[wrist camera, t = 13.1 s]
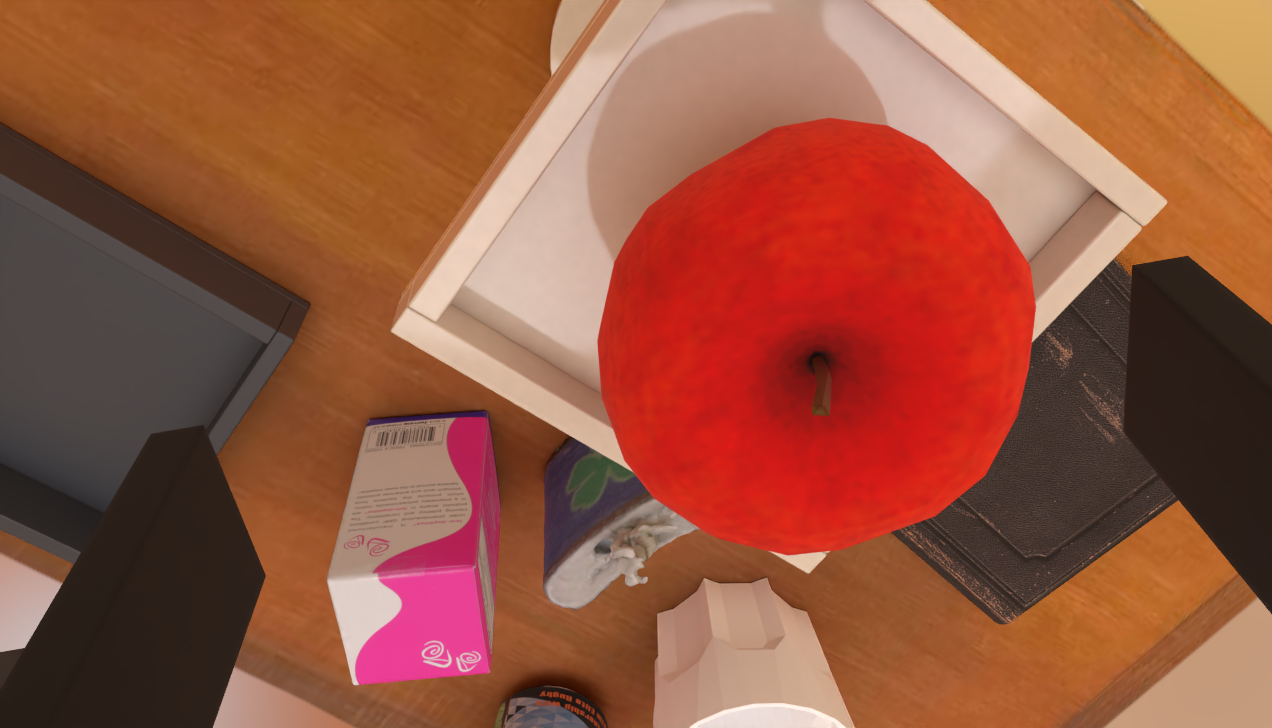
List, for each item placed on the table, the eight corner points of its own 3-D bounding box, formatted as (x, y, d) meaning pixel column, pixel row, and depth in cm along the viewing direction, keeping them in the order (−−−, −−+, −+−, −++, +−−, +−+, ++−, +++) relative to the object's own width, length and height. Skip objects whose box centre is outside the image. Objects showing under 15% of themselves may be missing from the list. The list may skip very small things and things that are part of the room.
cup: (740, 528, 57) (773, 667, 48) (860, 634, 61) (911, 781, 52) (596, 638, 60) (603, 788, 51) (720, 733, 64) (746, 888, 55)
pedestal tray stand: (459, 94, 46) (389, 332, 27) (653, -201, 41) (733, -161, 22) (714, 265, 50) (808, 575, 31) (916, 16, 46) (1170, 202, 27)
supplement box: (385, 520, 56) (347, 690, 46) (365, 417, 53) (320, 573, 43) (504, 511, 56) (492, 678, 46) (490, 408, 53) (474, 561, 43)
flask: (566, 499, 56) (567, 651, 46) (526, 461, 55) (519, 608, 45) (717, 392, 53) (750, 529, 44) (679, 350, 52) (705, 480, 43)
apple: (752, -16, 25) (824, 71, 18) (1020, 208, 28) (1169, 355, 21) (519, 282, 28) (505, 451, 21) (782, 456, 31) (845, 654, 24)
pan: (-180, 381, 50) (-229, 423, 47) (-42, 97, 45) (-88, 123, 42) (151, 541, 55) (127, 589, 52) (311, 303, 50) (294, 340, 47)
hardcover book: (958, 85, 47) (976, 100, 45) (1244, 409, 56) (1270, 434, 54) (682, 339, 52) (687, 363, 50) (984, 601, 60) (999, 631, 58)
